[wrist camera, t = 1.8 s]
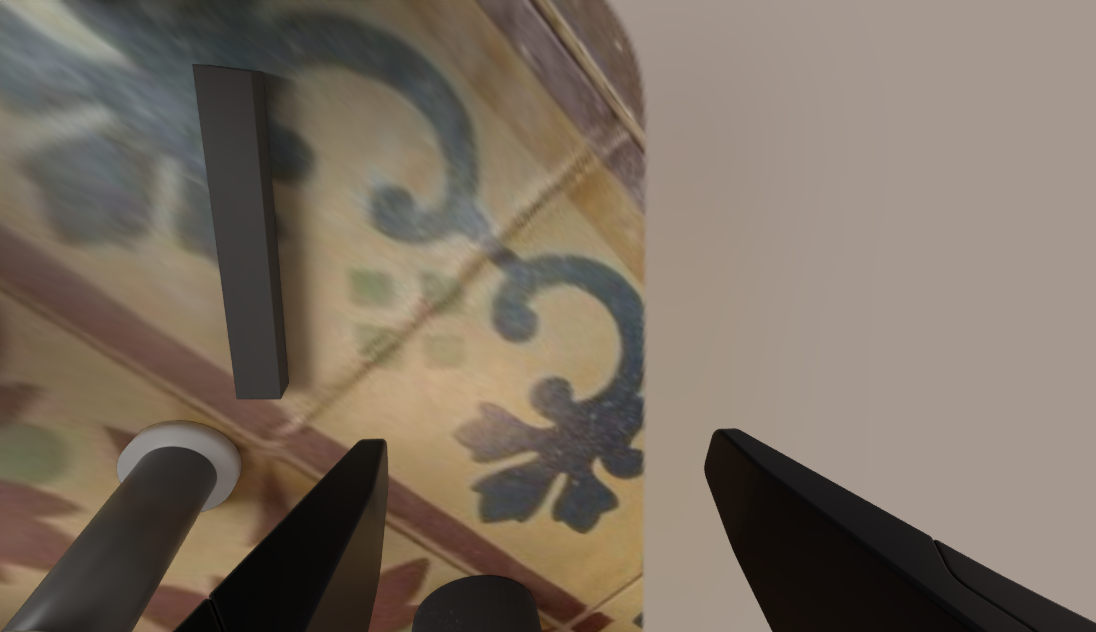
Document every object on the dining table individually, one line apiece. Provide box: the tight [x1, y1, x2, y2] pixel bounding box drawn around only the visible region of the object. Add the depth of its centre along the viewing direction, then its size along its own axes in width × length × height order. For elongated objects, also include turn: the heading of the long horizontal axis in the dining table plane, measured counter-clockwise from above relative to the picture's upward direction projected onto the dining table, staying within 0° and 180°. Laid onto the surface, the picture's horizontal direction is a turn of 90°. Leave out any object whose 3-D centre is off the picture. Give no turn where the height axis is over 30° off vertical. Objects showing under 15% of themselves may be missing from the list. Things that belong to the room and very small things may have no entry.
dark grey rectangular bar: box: [193, 64, 289, 399], centre depth 19 cm, size 12×2×2 cm, turn 172°
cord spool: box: [2, 421, 242, 632], centre depth 18 cm, size 4×4×10 cm
